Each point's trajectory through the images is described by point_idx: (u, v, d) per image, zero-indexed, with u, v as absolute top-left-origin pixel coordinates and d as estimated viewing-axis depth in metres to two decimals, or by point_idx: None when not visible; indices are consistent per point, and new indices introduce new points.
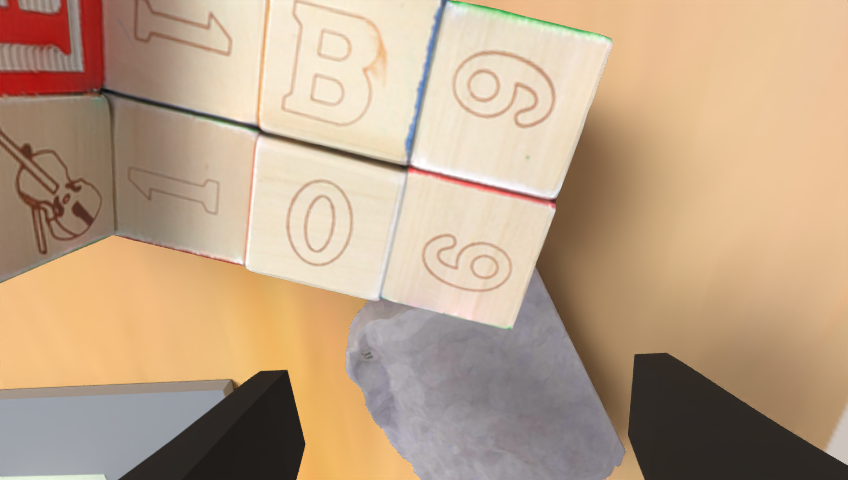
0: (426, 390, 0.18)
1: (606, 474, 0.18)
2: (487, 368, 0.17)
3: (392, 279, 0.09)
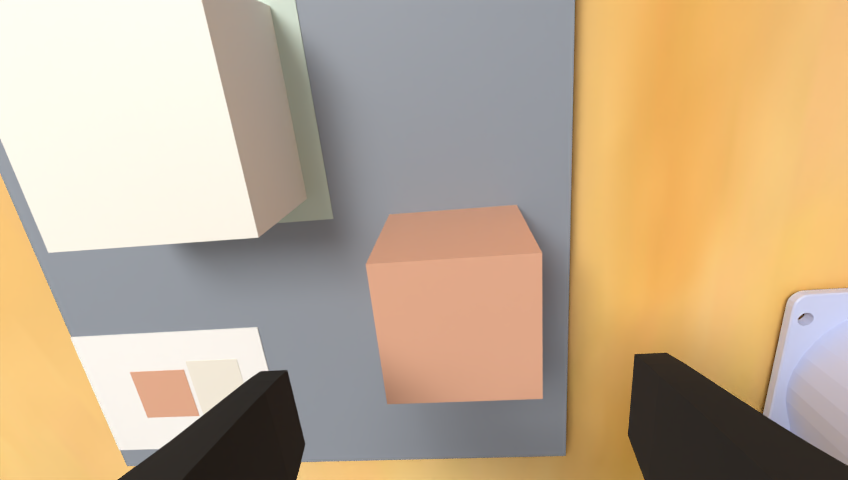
0: None
1: None
2: None
3: None
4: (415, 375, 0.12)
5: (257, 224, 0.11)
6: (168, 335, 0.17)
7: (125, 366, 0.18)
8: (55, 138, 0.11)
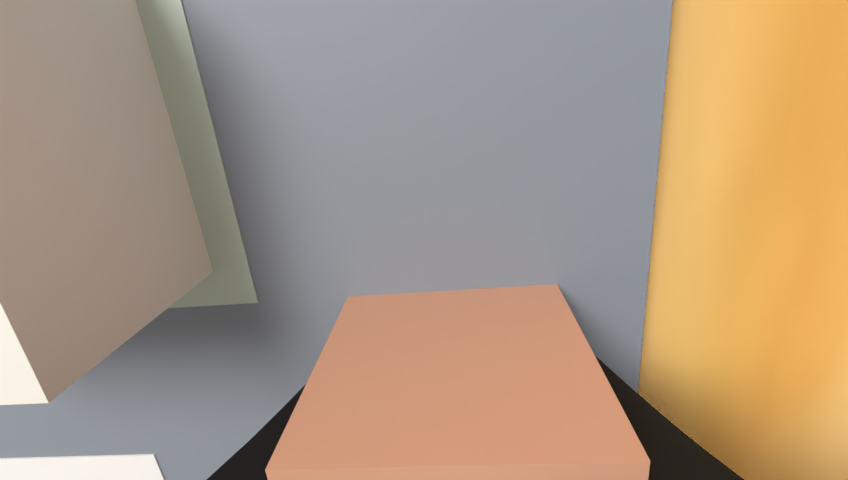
0: None
1: None
2: None
3: None
4: None
5: (48, 374, 0.05)
6: (23, 462, 0.12)
7: None
8: None
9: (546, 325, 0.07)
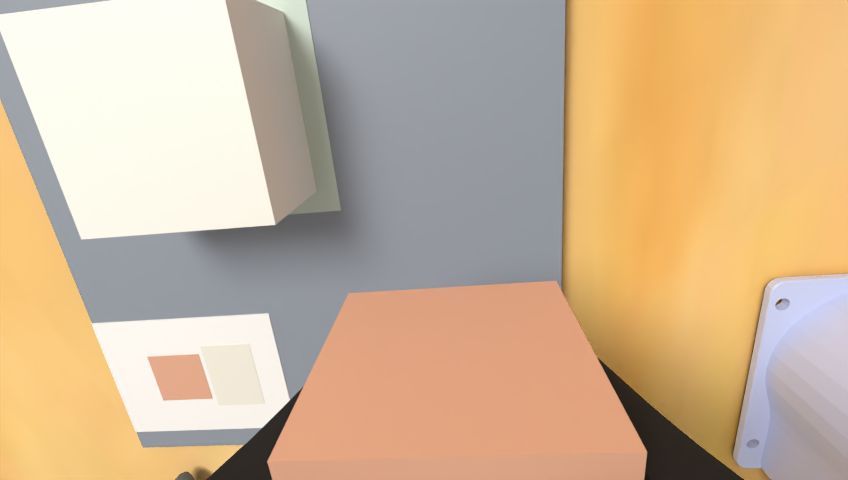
0: None
1: None
2: None
3: None
4: None
5: (274, 213, 0.12)
6: (184, 321, 0.18)
7: (143, 351, 0.19)
8: (90, 134, 0.12)
9: (545, 321, 0.07)
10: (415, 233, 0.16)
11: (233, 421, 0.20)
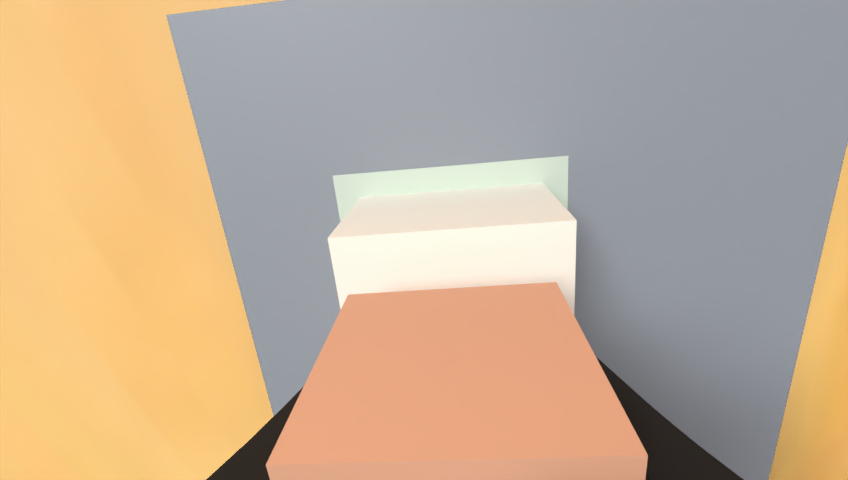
0: None
1: None
2: None
3: None
4: None
5: None
6: None
7: None
8: None
9: (545, 322, 0.07)
10: (637, 381, 0.16)
11: None
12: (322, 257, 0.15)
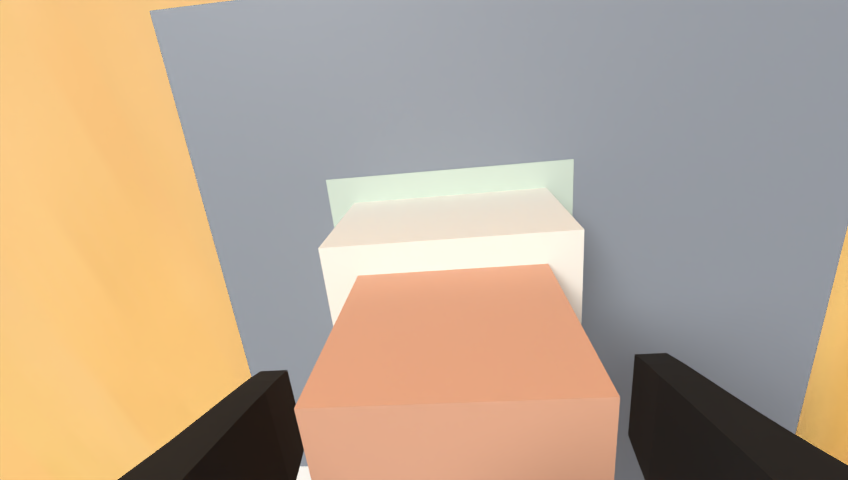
0: None
1: None
2: None
3: None
4: None
5: None
6: None
7: None
8: None
9: (537, 297, 0.08)
10: None
11: None
12: (316, 265, 0.15)
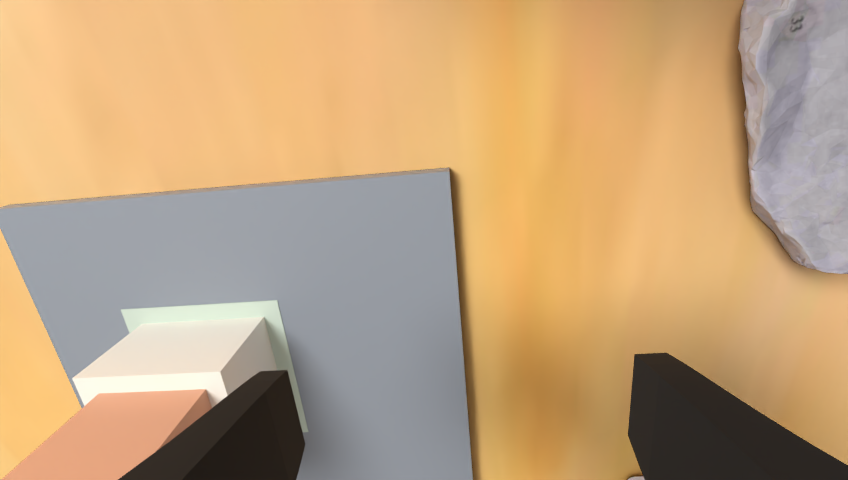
0: None
1: None
2: None
3: None
4: None
5: None
6: None
7: None
8: None
9: (167, 419, 0.15)
10: (363, 447, 0.22)
11: None
12: None
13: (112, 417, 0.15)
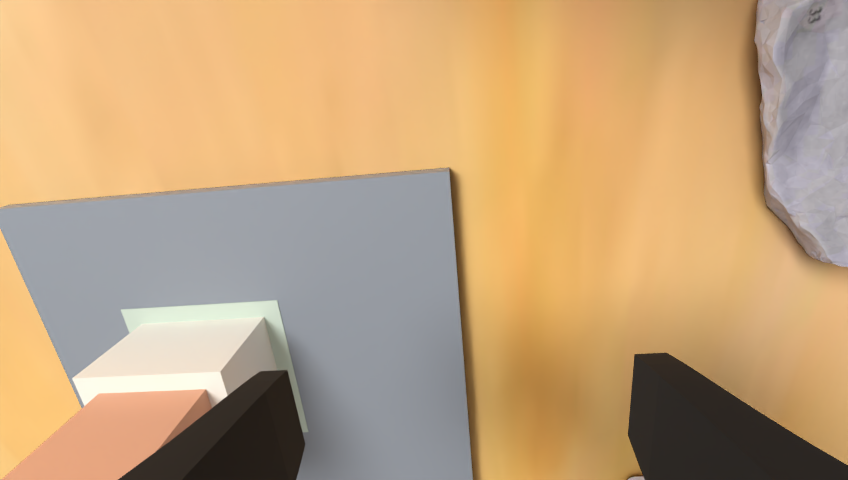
0: None
1: None
2: None
3: None
4: None
5: None
6: None
7: None
8: None
9: (167, 419, 0.15)
10: (363, 447, 0.22)
11: None
12: None
13: (112, 417, 0.15)
